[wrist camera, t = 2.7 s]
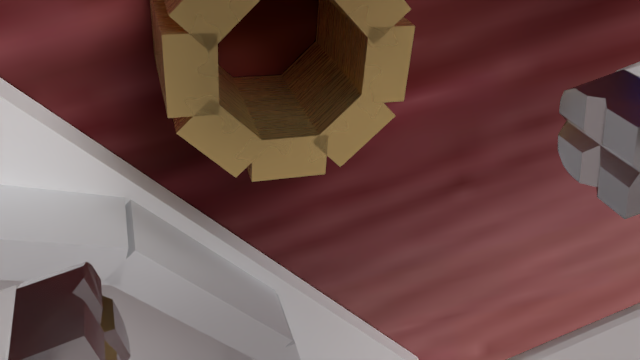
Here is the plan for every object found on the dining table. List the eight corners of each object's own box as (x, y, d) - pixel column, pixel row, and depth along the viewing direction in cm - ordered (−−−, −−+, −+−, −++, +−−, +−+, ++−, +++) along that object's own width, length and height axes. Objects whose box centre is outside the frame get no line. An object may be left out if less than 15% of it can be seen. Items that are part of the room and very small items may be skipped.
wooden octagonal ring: (393, 14, 19) (453, 62, 16) (256, 146, 20) (287, 216, 17) (260, -148, 16) (303, -128, 12) (103, 22, 17) (106, 80, 13)
